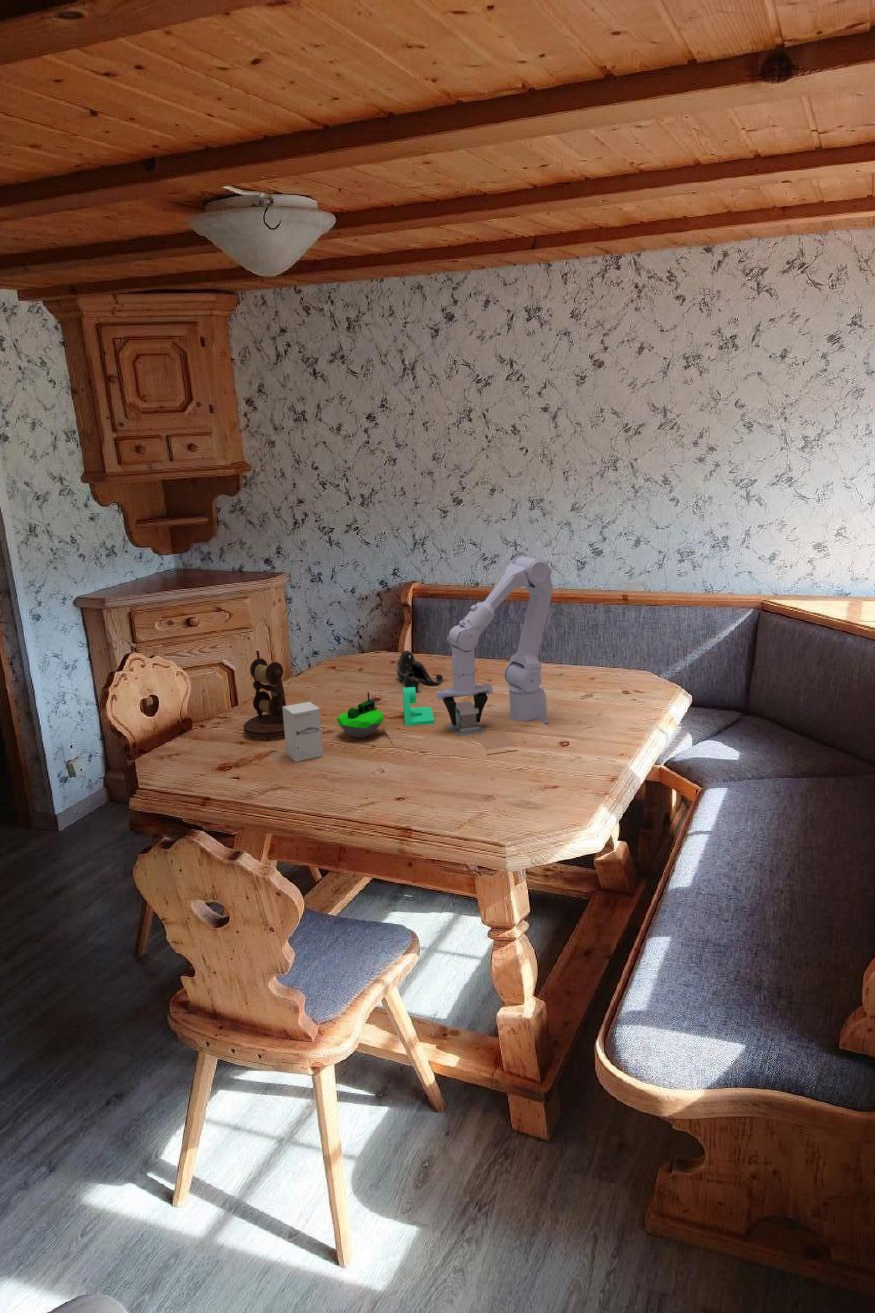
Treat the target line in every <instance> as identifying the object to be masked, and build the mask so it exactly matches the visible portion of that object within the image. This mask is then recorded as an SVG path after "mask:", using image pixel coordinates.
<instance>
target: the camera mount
mask: <svg viewBox="0 0 875 1313" xmlns="http://www.w3.org/2000/svg"><path fill="white" fill-rule="evenodd" d="M402 699H403V701H402V702H403V704H402V705H403V717H404V722H405V727H407V726H422V725H423V726H424V725H433V724H435V717H434V712H433V709H432V707H430V706H421V707H420V706H419V707H411V704H417V693H416V690H415V687H407V688H406V687H403V688H402Z"/></svg>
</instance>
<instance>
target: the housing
mask: <svg viewBox="0 0 875 1313" xmlns="http://www.w3.org/2000/svg"><path fill="white" fill-rule="evenodd" d="M476 713H479V709H478V708H477V707H476V706H475V704H474V703H473V702H472V701H470V700H466V701H460V702H459V701H458V702H456V725H455V726H454V727H455V728H456V729H457V730H458V731H459V732H460V733H468V732H475V731H479V726H478V725H477V723H478V722H477V721H476Z"/></svg>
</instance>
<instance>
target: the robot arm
mask: <svg viewBox="0 0 875 1313" xmlns="http://www.w3.org/2000/svg"><path fill="white" fill-rule="evenodd" d="M552 571H553V569H551V567H550V566H549V564H548V563H547V562H546V561H545V560H543V559H541V558H534V557H530V556H527V555H522V554H521V555H518V556H516V557H514V559H513V560H512V561H511V562H510V564H508V565H507V567H506V570H505V572H504V574H503V575H502V577H501V578H500V580H499V581H498V582H497V583H496V585H495V586H494V587H493V589H492V590H491V591H490V593H489V595H488V596H487V597H486V598H485V600H484V601H481V602H479V601H478V602H476V604H472V605H471V607H470V610H469V612H468V613H467V614H466V616H465V617H464V618H463V619H460V621H459V622H458V624H457V625H454V626H453V627H452V628H451V629H450V630H449V633H448V635H447V636H446V641H447V642H448V644H449V646H451V661H452V662H451V664H452V665H451V666H452V684H453V685H452V687H450V688H446V689H442V690H436V694H435V695H436V699H437V700H438V701H442V702H443V704H444V705H445V707H446V710H447V712H448V715H449V717H450V722H451V724H452V725H453V726H455V725H456V703H457V702H456V701H455V698H461V697H470V696H473V702H474V703H473V704H474V705H475V706H476V707H477V708H478V709H479V713H476V722H477V723H480V722H481V718H482V714H483V710H484V708H485V705H486V703H487V702H488V698H489V697H488V695H492V694H494V692H493V686H492V685H491V684H481V685H480V684H477V685H476V663H475V660H476V659H475V648H476V647H477V646H478V644H479V639H480V636H481V635H482V633H483V632H484V630H485V629H486V628H487V627H488V626H489V624H490V623H491V622H492V621H493V619H494V618H495V611H496V609H497V608H498V607H499V606H500V605H501V604H502V603H503V602H504V601H505V599H507V597H509V595H510V594H511V593H512V592H513V591H514V590H515V589H517V588H522V587H525V588H526V590H527V591H528V592H529V595H530V596H529V599H528V604H527V608H526V611H525V617H524V620H523V625H522V628H521V629H522V630H521V633H520V634H521V635H520V637H519V638H520V639H519V641H518V642H519V643H518V646H517V651H516V652H515V653H514V654H512V655H511V657H510V660H509V663H508V664H507V666H505V669H504V672H503V673H504V674H503V677H504V680H505V681H506V683H507V684H508V690H509V694H508V696H509V718H510V719H511V720H513V721H518V722H528V721H533V720H537V719H538V720H539V721H541V723H543V724H548V723H549V721H548V720H547V717H548V716H547V714H548V713H547V710H548V709H547V707H548V706H547V694H546V692H545V690H544V688H543V687H540V686H541V684H542V674H541V670H542V664H541V662H540V659H539V657H538V656H539V652H540V648H541V644H542V643H541V642H542V639H543V633H544V630H545V625H546V622H547V618H548V613H549V610H550V609H549V608H550V604H551V600H552V594H553V591H554V590H553V585H552V579H551V576H552ZM487 694H488V695H487Z"/></svg>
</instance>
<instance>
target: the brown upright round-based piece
mask: <svg viewBox="0 0 875 1313" xmlns="http://www.w3.org/2000/svg"><path fill="white" fill-rule="evenodd" d="M249 672H250V676H251V677H252V678H253V680H254V681H253V683H252V687H253V688H254V690H255V695H254V696H253V699H252V706H253V709H254V710H255V711H256V714H257V715H256V716H253V717H251V718H249V719H248V721H246V722H245V723H244V724H243V727H242V728H243V732H244V733H245V734H247V735H250V736H254V737H255V736H256V737H266V738H265V739H266V740H267V741H268V742H270V740H271V737H272V736H273V737H274V736H280V735H285V731H284V720H283V708H282V707H283V706H287V703H286V694H285V690H284V689H285V688H284V684H283V680H282V677H283V674H284V668H283V665H282V664H281V663H280V662H278V661H272V662H271V663H269V664H268V662H267V661H266V660H265V658H261V657H259V658H256V659H254V660H253V661H252V663H251V664H250V667H249ZM260 690H265V691H260ZM268 692H270V694H269V693H268ZM264 713H265V714H264Z"/></svg>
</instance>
